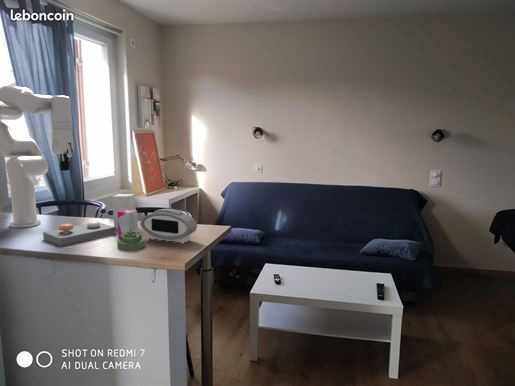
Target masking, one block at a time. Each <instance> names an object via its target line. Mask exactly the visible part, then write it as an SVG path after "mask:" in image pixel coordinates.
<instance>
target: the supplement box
mask: <svg viewBox="0 0 515 386" xmlns="http://www.w3.org/2000/svg"><path fill="white" fill-rule="evenodd" d="M138 228H139V227H138V210H122V211H118V230H117V231H118V233H117V234H118V237H117V238H118V240H119V239H120V236H121V235H124V234H126V233H127V231H130V229H131V231H134V232H136V234H139V231H138Z"/></svg>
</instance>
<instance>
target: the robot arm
mask: <svg viewBox="0 0 515 386" xmlns="http://www.w3.org/2000/svg"><path fill="white" fill-rule="evenodd" d="M26 112H27V113H30V114H38V115H39V114H41V115H51V124H52V125H51V126H52V127H51V129H52V132H51V133H52V134H51V148H52V149H51V152H52V153H53V154H55V155H56V156H57V157H58V160H59V171H64V172H65V171H70V158H71V157H72V156H73V153H74V152H75V143H74V136H73V116H72V100H71V98H70V97H69V96H66V95H45V94H34V93H33V91H32V90H31V89H30V88H28V87H23V86H14V85H13V86H12V85H5V86H4V85H3V86H1V87H0V154H1V155H2V156H3V157H4V158H6V159H8V160H7V161H6V164H5V168H6V173H7V176H8V180H9V186H10V199H11V208H12V211H11V212H12V222H10V223H9V227H11V228H15V229H22V228H25V229H26V228H32V227H35V226H40V225H41V223H42V222H41V220H40V219H38V217H37V202H36V192H35V185H34V183H33V182H32V180H31V179H30V177H38V176H43V175H46V174H47V173H48V171H49V163H48V161H47V159H46V157H45V155H44V153H43V152H42V149H41V148H40V147H39V145H38V143H37V142H36V141H35V140H34V139H33V138H31V137H28V136H16V135H15V134H14V132H13V131H12V129H11V127H9V126H8V124H6V123H5V122H3V121H4V120H5V121H7V120H10V121H11V120H12V121H15V120H19V119H20V118H22V117H23V115H24V114H25V113H26ZM2 120H3V121H2Z"/></svg>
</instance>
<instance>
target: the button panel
mask: <svg viewBox="0 0 515 386" xmlns="http://www.w3.org/2000/svg"><path fill="white" fill-rule="evenodd" d="M69 231H70V233H68V234H63V231H62V230H59V228H58V229H53V230H50V231H44V232H43V233H42V236H43V240H44V241H47V242H49V243H51V244H55V245H57V246H60V247H63V246H66V245H67V246H68V245H73V244H77V243H81V242H86V241H89V240H93V239H99V238H103V237H107V236H108V237H109V236H112V235H117V230H116V227H114V225H110V224H105V223H102V222H100V227H97V228H93V229H91V228H89V227H87V223H86V224H81V225H75V226H73V229H71V230H69Z"/></svg>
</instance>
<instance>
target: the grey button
mask: <svg viewBox="0 0 515 386" xmlns="http://www.w3.org/2000/svg"><path fill="white" fill-rule="evenodd" d="M100 223H101V221H98V220H96V221H95V220H93V221H88V222H87V223H86V224H87V227H89V228H91V229H93V228H97V227H100Z"/></svg>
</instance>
